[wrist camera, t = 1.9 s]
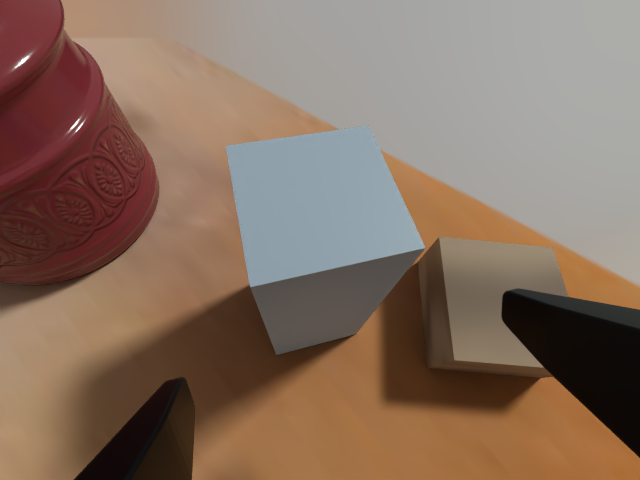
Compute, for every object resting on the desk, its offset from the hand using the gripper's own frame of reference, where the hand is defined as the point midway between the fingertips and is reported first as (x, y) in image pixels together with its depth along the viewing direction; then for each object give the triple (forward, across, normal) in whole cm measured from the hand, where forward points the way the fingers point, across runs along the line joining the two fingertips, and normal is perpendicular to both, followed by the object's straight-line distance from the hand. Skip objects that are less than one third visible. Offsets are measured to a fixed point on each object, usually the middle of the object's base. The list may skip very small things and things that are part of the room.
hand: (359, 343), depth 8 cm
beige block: (+9, -10, +7) cm, 16 cm away
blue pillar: (+11, 0, +5) cm, 12 cm away
